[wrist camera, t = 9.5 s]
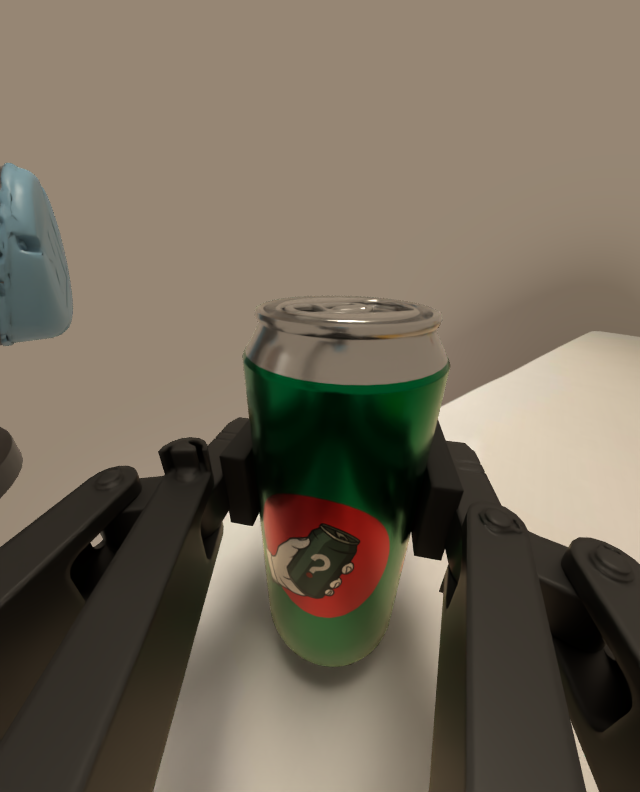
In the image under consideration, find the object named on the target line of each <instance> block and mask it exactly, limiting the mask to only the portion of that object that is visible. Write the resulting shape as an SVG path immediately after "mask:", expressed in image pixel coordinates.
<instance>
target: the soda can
mask: <svg viewBox="0 0 640 792" xmlns="http://www.w3.org/2000/svg"><path fill="white" fill-rule="evenodd" d="M255 318H256V320H257V321H258V322H259V323H258V325H257V327H256V330H255V332H254V334H253V336H252V337H251V339H250V341H249V343H248V345H247V346H246V348H245V350H244V353H243V356H242V358H243V367H244V376H245V385H246V394H247V403H248V412H249V422H250V431H251V440H252V449H253V458H254V467H255V476H256V485H257V494H258V503H259V513H260V522H261V531H262V540H263V549H264V558H265V567H266V576H267V585H268V594H269V603H270V610H271V615H272V618H273V622H274V625H275V627H276V629H277V631H278V633H279V635H280V636H281V638H282V639H283V640H284V642H285V643H286V645H287V646H289V647H290V648H291V649H292V650H293V651H294V652H295V653H296V654H297V655H299V656H300V657H302V658H303V659H305V660H307V661H309V662H312V663H314V664H317V665H322V666H326V667H340V666H345V665H350V664H352V663H354V662H357V661H359V660H361V659H363V658H364V657H365V656H367V655H368V654H370V653H371V652H372V651H373V650H374V649H375V648H376V647H377V646H378V644H379V643H380V641H381V640H382V638H383V637H384V635H385V633H386V630H387V628H388V626H389V622H390V618H391V613H392V609H393V605H394V601H395V597H396V592H397V588H398V584H399V580H400V576H401V571H402V567H403V563H404V559H405V555H406V550H407V546H408V542H409V538H410V533H411V529H412V525H413V521H414V517H415V512H416V508H417V504H418V500H419V496H420V491H421V487H422V483H423V479H424V475H425V470H426V466H427V462H428V458H429V453H430V449H431V445H432V441H433V437H434V432H435V428H436V424H437V420H438V416H439V411H440V407H441V403H442V398H443V394H444V390H445V386H446V382H447V378H448V373H449V369H450V362H449V359H448V357H447V354H446V352H445V350H444V348H443V345H442V343H441V341H440V338H439V335H438V333H437V328H439V326H440V324H441V322H442V315H441V313H440V312H439V311H438V310H436V309H433V308H431V307H429V306H425V305H422V304H417V303H413V302H407V301H401V300H393V299H384V298H374V297H357V296H305V297H292V298H283V299H277V300H272V301H268V302H265V303H263V304H260V305H258V306H257V307H256V309H255Z"/></svg>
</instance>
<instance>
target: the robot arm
mask: <svg viewBox="0 0 640 792" xmlns="http://www.w3.org/2000/svg"><path fill="white" fill-rule="evenodd" d="M72 314H73V303H72V291H71V284H70V277H69V271H68V266H67V261H66V257H65V252H64V248H63V244H62V240H61V236H60V232H59V229H58V225H57V222H56V219H55V216H54V212H53V210H52V207H51V204H50V201H49V199H48V196H47V194H46V193H45V191H44V189H43V188H42V187H41V184H40V182H39V180H38V179H37V177H36V176H35V175H34V174H32V173H31V172H30V171H28V170H25V169H21V168H18V167H17V166H15V165H14V164H12V163H6V164H4V165H3V166H0V345H3V346H9V345H13V344H14V343H16V342H23V341H32V340H39V339H47V338H53V337H55V336H59V335H61V334H62V333H63V332H65V331H66V330H67V329H68V328H69V326H70V324H71V320H72ZM158 453H159V456H160V459H161V463H162V466H163V469H164V473H165V475H164V476H159V477H148V478H139V476H138V473H137V471H136V470H135V469H134V468H133V467H130V466H117V467H112V468H108V469H106V470H104V471H101V472H99V473H97V474H96V475H94V476H93V477H91V478H89V479H88V480H87V481H85V482H84V483H83V484H82V485H80V486H79V487H78V488H77V489H75V490H74V491H73V492H71V493H70V494H69V495H67V496H66V497H65V498H63V499H62V500H61V501H60V502H58V503H57V504H56V505H54V506H53V507H52V508H51V509H49V510H48V511H47V512H46V513H44V514H43V515H41V516H40V517H39V518H38V519H37V520H35V521H34V522H33V523H31V524H30V525H29V526H27V527H26V528H25V529H23V530H22V531H21V532H19V533H18V534H17V535H16V536H14V537H13V538H12V539H10V540H9V541H8V542H6V543H5V544H4V545H3V546H1V547H0V792H153V789H154V785H155V781H156V778H157V774H158V770H159V767H160V763H161V759H162V756H163V752H164V748H165V745H166V741H167V737H168V734H169V730H170V726H171V723H172V719H173V715H174V712H175V708H176V704H177V701H178V697H179V693H180V690H181V686H182V682H183V679H184V675H185V671H186V668H187V664H188V660H189V657H190V653H191V649H192V646H193V642H194V638H195V635H196V631H197V627H198V624H199V620H200V616H201V613H202V609H203V605H204V602H205V598H206V594H207V591H208V587H209V584H210V580H211V576H212V573H213V569H214V565H215V562H216V558H217V554H218V551H219V547H220V543H221V540H222V536H223V522H222V521H223V519H224V517H225V516H226V514H227V512H228V511H229V513H230V519H231V522H233V523H238V524H244V525H249V526H253V525H254V522H255V520H256V518H257V516H258V514H259V503H258V494H257V485H256V476H255V467H254V458H253V449H252V440H251V431H250V422H249V419H248V418H237V419H235V420H234V421H232V422H230V423H228V425H226V427H225V428H224V429H223V430H222V432H220V433H219V434H218V435H217V436H216V439H214V440H213V441H212V442H211V443H210V444H209V445H208V446H207V444H206V442H205V441H204V440H202V439H200V438H192V437H189V438H182V439H178V440H175V441H172V442H170V443H169V444H167V445H165V446H163V447H162V448H161V449H160V450H159V451H158ZM484 472H485V471H484V469H483V467H482V465H480V461H479V459H478V457H477V455H476V453H475V452H474V451H473V450H472V449H471V448H470V447H469V446H467V445H466V444H465V443H460V442H452V441H446V440H445V438H444V435H443V432H442V430H441V427H440V424H439V421H438V420H437V424H436V428H435V432H434V437H433V441H432V445H431V449H430V453H429V458H428V462H427V466H426V470H425V475H424V479H423V483H422V487H421V491H420V496H419V500H418V504H417V508H416V512H415V517H414V521H413V525H412V529H411V534H412V542H413V551H414V556H419V557H424V558H430V559H435V560H441V559H442V556H443V553H444V550H446V554H447V559H448V563H449V564H448V567H447V570H446V573H445V576H444V579H443V581H442V584H441V587H440V590H439V592H442V593H443V607H442V620H441V634H440V648H439V661H438V675H437V689H436V702H435V716H434V730H433V743H432V757H431V770H430V784H429V792H586V788H585V784H584V779H583V775H582V770H581V766H580V761H579V757H578V752H577V748H576V743H575V739H574V734H573V730H572V725H573V728H574V730H575V733H576V735H577V737H578V740H579V742H580V745H581V747H582V750H583V752H584V755H585V757H586V760H587V762H588V765H589V767H590V770H591V772H592V775H593V777H594V780H595V782H596V785H597V787H598V790H599V792H640V564H639V563H638V562H637V561H636V560H634V559H633V558H632V557H630V556H629V555H627V554H626V553H624V552H623V551H621V550H620V549H618V548H616V547H614V546H612V545H610V544H608V543H606V542H603V541H600V540H596V539H593V538H581V537H579V538H577V539H575V540H573V541H572V542H571V544H570V545H569V547H566V546H563V545H561V544H558V543H556V542H553V541H550V540H548V539H545V538H543V537H540V536H538V535H536V534H533V533H531V532H529V531H528V530H527V528H526V526H525V524H524V522H523V521H522V520H521V519H520V518H519V517H518V516H517V515H516V514H515V513H513V512H512V511H510V510H509V509H507V508H506V507H503V506H501V504H500V502H499V500H498V498H497V496H496V493H495V491H494V489H493V487H492V485H491V483H490V481H489V479H488V477H487V475H486V474H485V473H484ZM99 533H100V534H101V536H102V538H103V540H102V541H101V542H100V543H99V544H98V545H96V546H95V547H92V545H91V543H90V542H91V541H92V540H93V539H94V538H95V537H96V536H97V535H98V534H99ZM570 720H571V721H570ZM571 723H572V725H571Z"/></svg>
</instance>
